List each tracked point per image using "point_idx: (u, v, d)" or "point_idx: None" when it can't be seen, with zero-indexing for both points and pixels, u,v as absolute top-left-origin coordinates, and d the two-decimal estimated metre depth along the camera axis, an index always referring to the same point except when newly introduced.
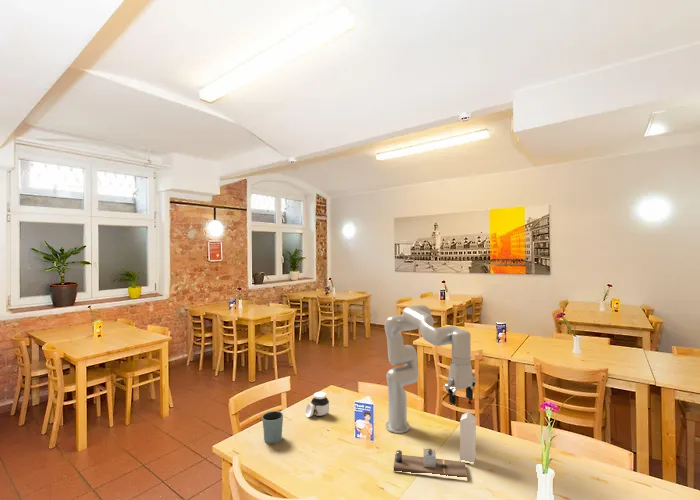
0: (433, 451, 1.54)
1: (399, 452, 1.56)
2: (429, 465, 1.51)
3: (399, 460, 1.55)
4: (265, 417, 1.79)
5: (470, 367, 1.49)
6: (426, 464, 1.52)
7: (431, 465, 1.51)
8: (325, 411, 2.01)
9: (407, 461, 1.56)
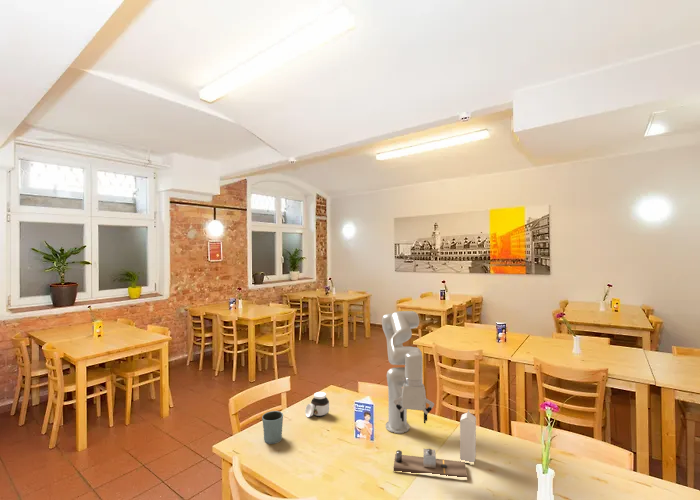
0: (433, 451, 1.54)
1: (399, 452, 1.56)
2: (429, 465, 1.51)
3: (399, 460, 1.55)
4: (265, 417, 1.79)
5: None
6: (426, 464, 1.52)
7: (431, 465, 1.51)
8: (325, 411, 2.01)
9: (407, 461, 1.56)
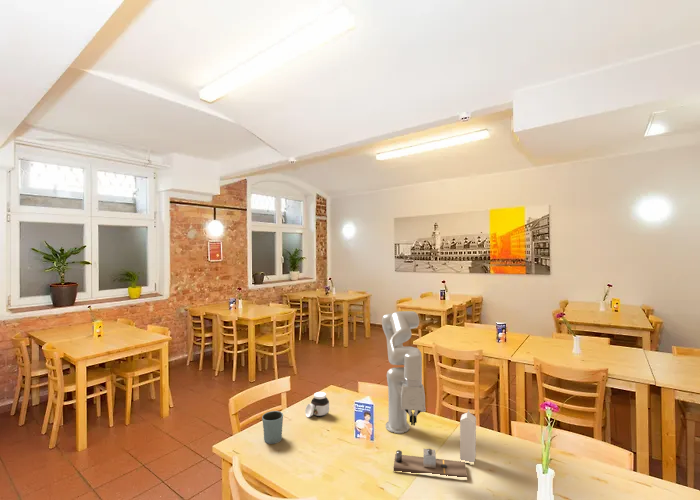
0: (433, 451, 1.54)
1: (399, 452, 1.56)
2: (429, 465, 1.51)
3: (399, 460, 1.55)
4: (265, 417, 1.79)
5: None
6: (426, 464, 1.52)
7: (431, 465, 1.51)
8: (325, 411, 2.01)
9: (407, 461, 1.56)
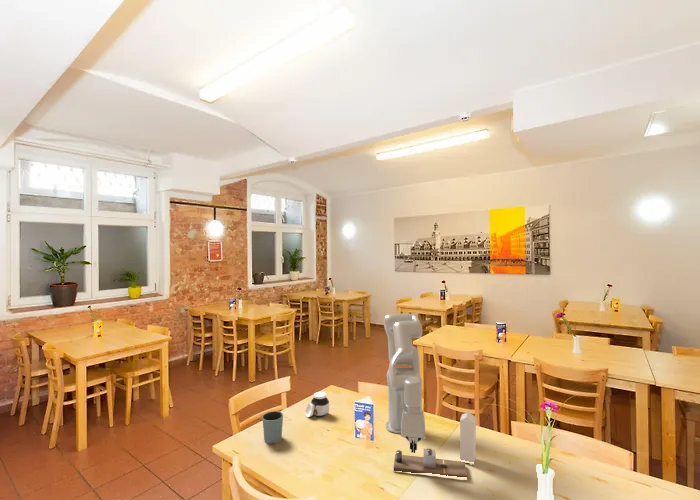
0: (433, 451, 1.54)
1: (399, 452, 1.56)
2: (429, 465, 1.51)
3: (399, 460, 1.55)
4: (265, 417, 1.79)
5: None
6: (426, 464, 1.52)
7: (431, 465, 1.51)
8: (325, 411, 2.01)
9: (407, 461, 1.56)
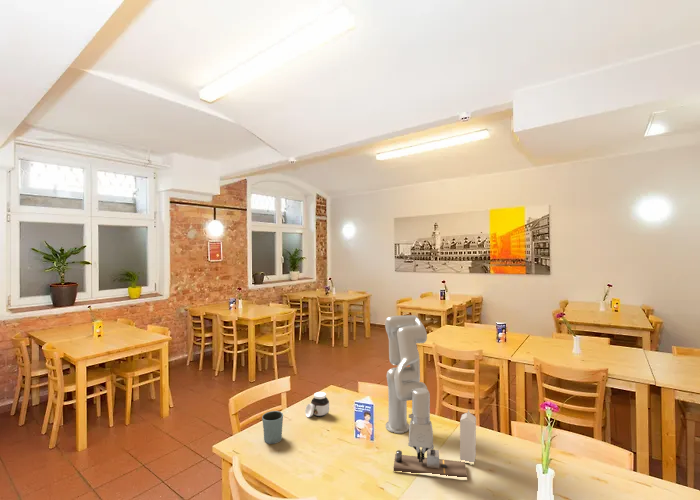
0: (436, 451, 1.54)
1: (399, 452, 1.56)
2: (433, 465, 1.51)
3: (399, 460, 1.55)
4: (265, 417, 1.79)
5: None
6: (430, 464, 1.51)
7: (435, 465, 1.51)
8: (325, 411, 2.01)
9: (407, 461, 1.56)
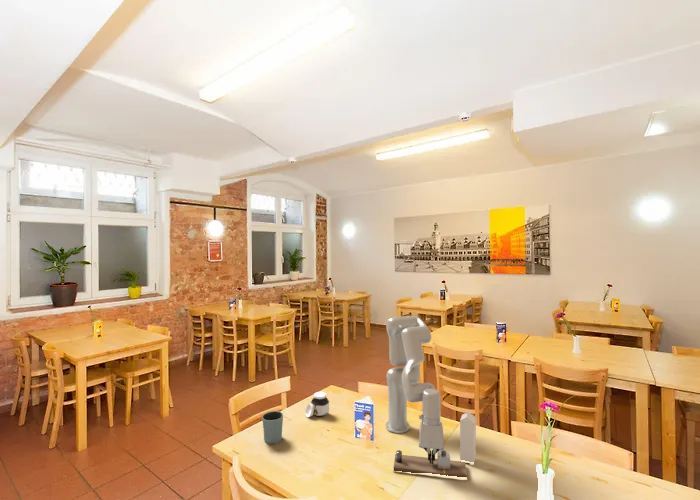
0: (447, 453, 1.53)
1: (399, 452, 1.56)
2: (443, 467, 1.50)
3: (399, 460, 1.55)
4: (265, 417, 1.79)
5: None
6: (440, 466, 1.50)
7: (446, 466, 1.50)
8: (325, 411, 2.01)
9: (407, 461, 1.56)
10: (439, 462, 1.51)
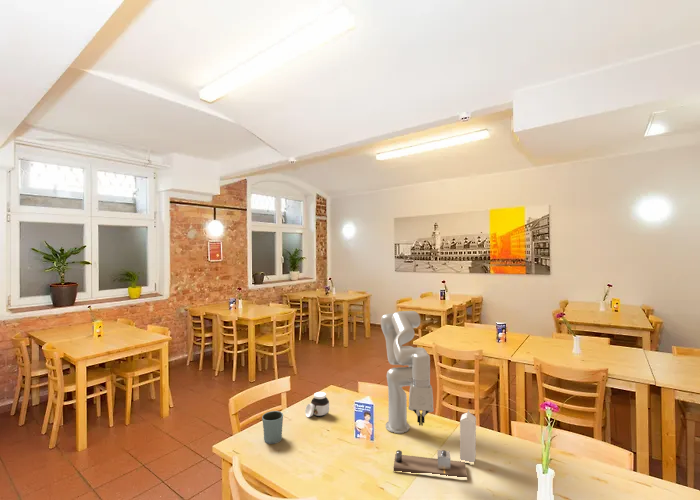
0: (447, 453, 1.53)
1: (399, 452, 1.56)
2: (444, 467, 1.50)
3: (399, 460, 1.55)
4: (265, 417, 1.79)
5: None
6: (441, 466, 1.50)
7: (446, 466, 1.50)
8: (325, 411, 2.01)
9: (407, 461, 1.56)
10: (439, 462, 1.51)
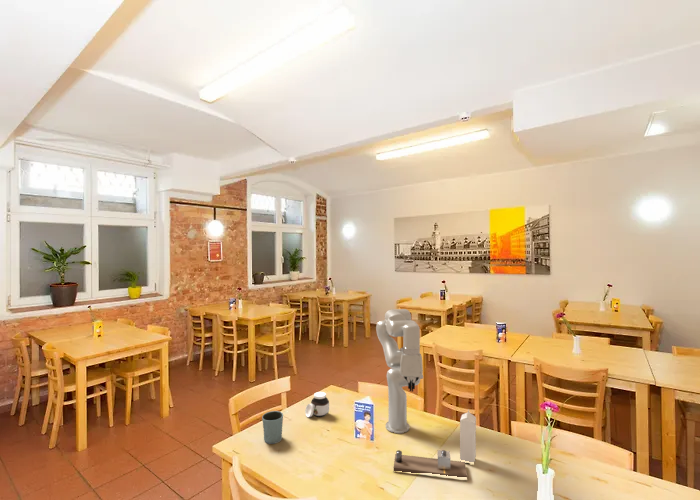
0: (447, 453, 1.53)
1: (399, 452, 1.56)
2: (444, 467, 1.50)
3: (399, 460, 1.55)
4: (265, 417, 1.79)
5: None
6: (441, 466, 1.50)
7: (446, 466, 1.50)
8: (325, 411, 2.01)
9: (407, 461, 1.56)
10: (439, 462, 1.51)
